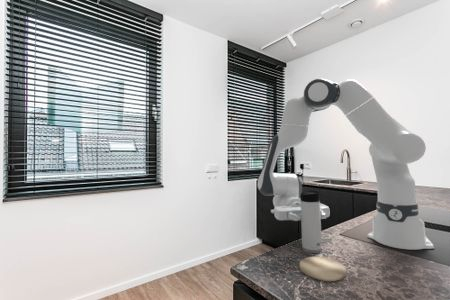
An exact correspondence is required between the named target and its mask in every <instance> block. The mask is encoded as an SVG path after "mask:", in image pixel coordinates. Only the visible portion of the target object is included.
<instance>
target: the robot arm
mask: <svg viewBox="0 0 450 300" xmlns="http://www.w3.org/2000/svg"><path fill="white" fill-rule="evenodd" d="M331 106H336V107H337V108H338V109H339V110H340V111H341V112H342V113H343V114H344V115H345V117H346V119H348V121H349V122H350V123H351V125H352V126H353V127H354V129H355V130H356V132H357V133H359V134H361V135H362V136H363V137H365V138H366V139H367V140H368V141H369V143H370V144H369V147H368V149H369V150H368V152H369V154H370V157H371V161H372V166H373V169H374V174H375V177H376V189H377V201H376V211H377V212H376V213H375V214H374V215H372V231H370V233H367V238H369V239H371V240H374V241H376V242H377V243H379V244H382V245H384V246H387V247H391V248H395V249H401V250H410V251H412V250H415V251H416V250H423V249H424V250H425V249H427V250H428V249H429V250H431V249H435V247H434V243H432V242H431V240H430V239H429V238H428V237H427V236H426V235H427V232H426V226H425V222H424V221H423V219H421V218H420V217H419V205H418V203H417V196H416V182H415V180H414V178H413V176H412V174H411V172H410V169H409V166H408V165H409V164H412V163H415V162H417V161H419V160H420V159H421V158H423V156H424V155H425V152H426V150H427V149H426V143H425V141H424V140H423V138H422V137H421V136H419V135H417V134H415V133H413V132H412V131H410V130H408V129H407V128H406V127H405V126H404V125H402V124H401V123H400V122H399V121H397V120H396V119H395V118H393V117H392V116H391V114H389V113H388V112H387V111H386V110H385V108H384V107H382V105H381V104H380V102H378V101H377V99H376V98H375V97H374V96H373V94H372V93H371V92H370V91H369V90H368V89H367V88H366V87H364V86H363V85H362V84H361V83H360V82H358V81H357V80H355V79H347V80H345V81H342V82H341V83H337V82H334V81H332V80H328V79H325V78H315V79H313V80H311V81H310V82H308V83H307V85H306V86H305V88H304V90H303V96H302V97H294V98H290V99H289V100H287V101H286V103H285V105H284V109H283V113H282V117H281V118H282V119H281V123H280V128H279V131H278V132H277V134H276V135H273V137H272V138H271V140H270V142H269V146H268V148H267V151H266V155H265V158H264V161H263V162H264V163H263V165H262V169H261V172H260V174H259V177H258V179H257V189H258V191H259V192H260V194H261V195H263V196H264V197H266V196H267V197H268V196H269V197H270V196H271V197H273V198H272V204H273V207H274V208H273V209H270V213H271V214H274V217H275V219H276V220H277V221H294V222H298V221H301V204H300V203H301V202H300V194H301V193H302V192H303V183H302V181H301V179H300V178H299V176H298V175H296V173H288V172H287V173H286V172H285V173H283V172H274V170H275V167H276V165H277V161H278V160H277V159H278V157H279V155H280V154H281V153H282V152H283V151H285V150H288V149H290V148H293V147H297V146H299V145H301V144H302V143H304V141H305V140H306V138H307V136H308V131H309V125H310V118H311V115H312V113H314V112H318V111H324V110H326V109H328V108H329V107H331ZM330 212H331V211H330V208H329V206H328V205H326V204H323V203H321V202H320V218H321V220H324V219H327V218H329V217H330V214H331V213H330Z"/></svg>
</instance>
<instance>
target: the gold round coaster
mask: <svg viewBox="0 0 450 300" xmlns="http://www.w3.org/2000/svg"><path fill="white" fill-rule="evenodd" d="M299 269H300V272H302V274H305V276H308V277H310V278H311V279H315V280H319V281H323V282H324V281H325V282H337V280H338V281H341V280H343V279H345V278H346V277H347V268H346V266H345V265H344V264H343V263H341V262H339V261H337V260H334V259H332V258H329V257H324V256H308V257H305V258H303V259H301V260H300V262H299Z"/></svg>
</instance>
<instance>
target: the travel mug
mask: <svg viewBox="0 0 450 300" xmlns="http://www.w3.org/2000/svg"><path fill="white" fill-rule="evenodd" d="M320 194H321V191H320V190H308V191H302V193H301V194H300V202H301V203H300V204H301V219H300V221H301V222H300V223H301V245H302V246H301V247H302V248H301V249H302V250H303V251H304V252H306V253H309V254H319V253H321V252H322V251H323V246H322V245H323V242H322V223H321V222H322V221H321V220H322V219H321V218H320V203H321V201H320V200H321V199H320Z"/></svg>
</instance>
